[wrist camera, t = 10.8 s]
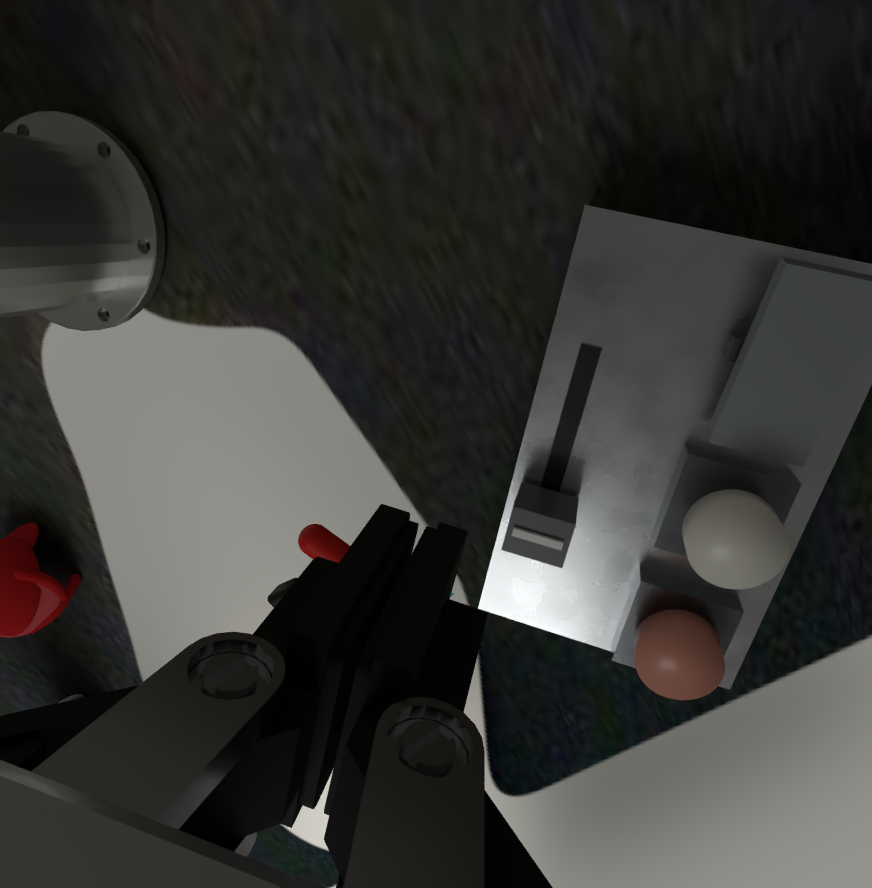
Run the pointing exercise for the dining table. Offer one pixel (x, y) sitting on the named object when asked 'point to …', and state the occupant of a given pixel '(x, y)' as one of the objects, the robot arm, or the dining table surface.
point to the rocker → (795, 361)
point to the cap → (28, 586)
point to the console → (652, 433)
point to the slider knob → (541, 524)
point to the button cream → (734, 539)
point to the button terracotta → (678, 655)
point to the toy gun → (314, 553)
